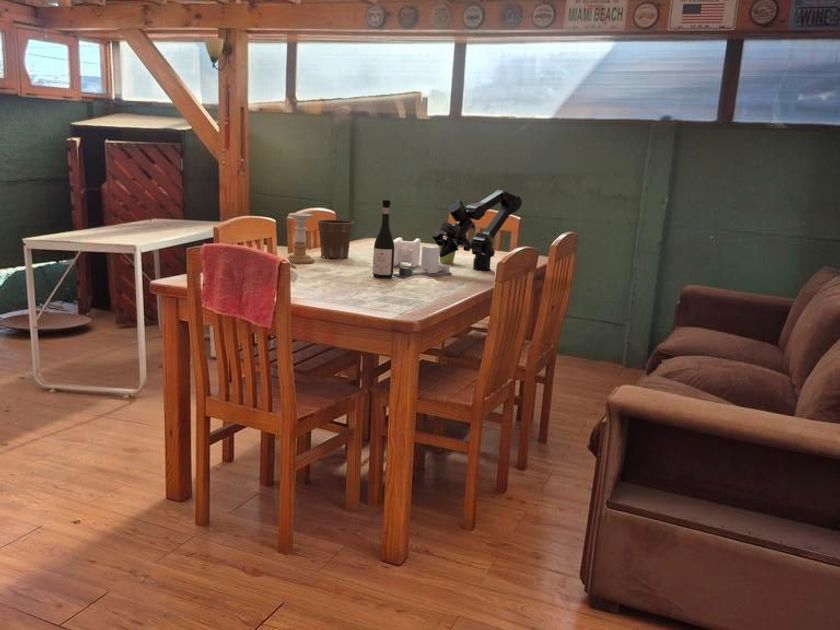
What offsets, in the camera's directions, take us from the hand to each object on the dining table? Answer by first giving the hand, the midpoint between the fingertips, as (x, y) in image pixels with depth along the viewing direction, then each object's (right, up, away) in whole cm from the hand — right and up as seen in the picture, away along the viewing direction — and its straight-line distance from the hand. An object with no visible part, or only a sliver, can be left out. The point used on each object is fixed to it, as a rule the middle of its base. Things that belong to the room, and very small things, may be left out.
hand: (440, 256), depth 298 cm
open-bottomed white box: (-5, -7, -3) cm, 8 cm away
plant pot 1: (-47, +2, +29) cm, 56 cm away
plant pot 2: (+4, 0, +32) cm, 33 cm away
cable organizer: (-15, -3, +17) cm, 23 cm away
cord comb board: (-7, -8, -5) cm, 12 cm away
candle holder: (-60, -1, +11) cm, 61 cm away
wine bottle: (-23, -9, -13) cm, 28 cm away
